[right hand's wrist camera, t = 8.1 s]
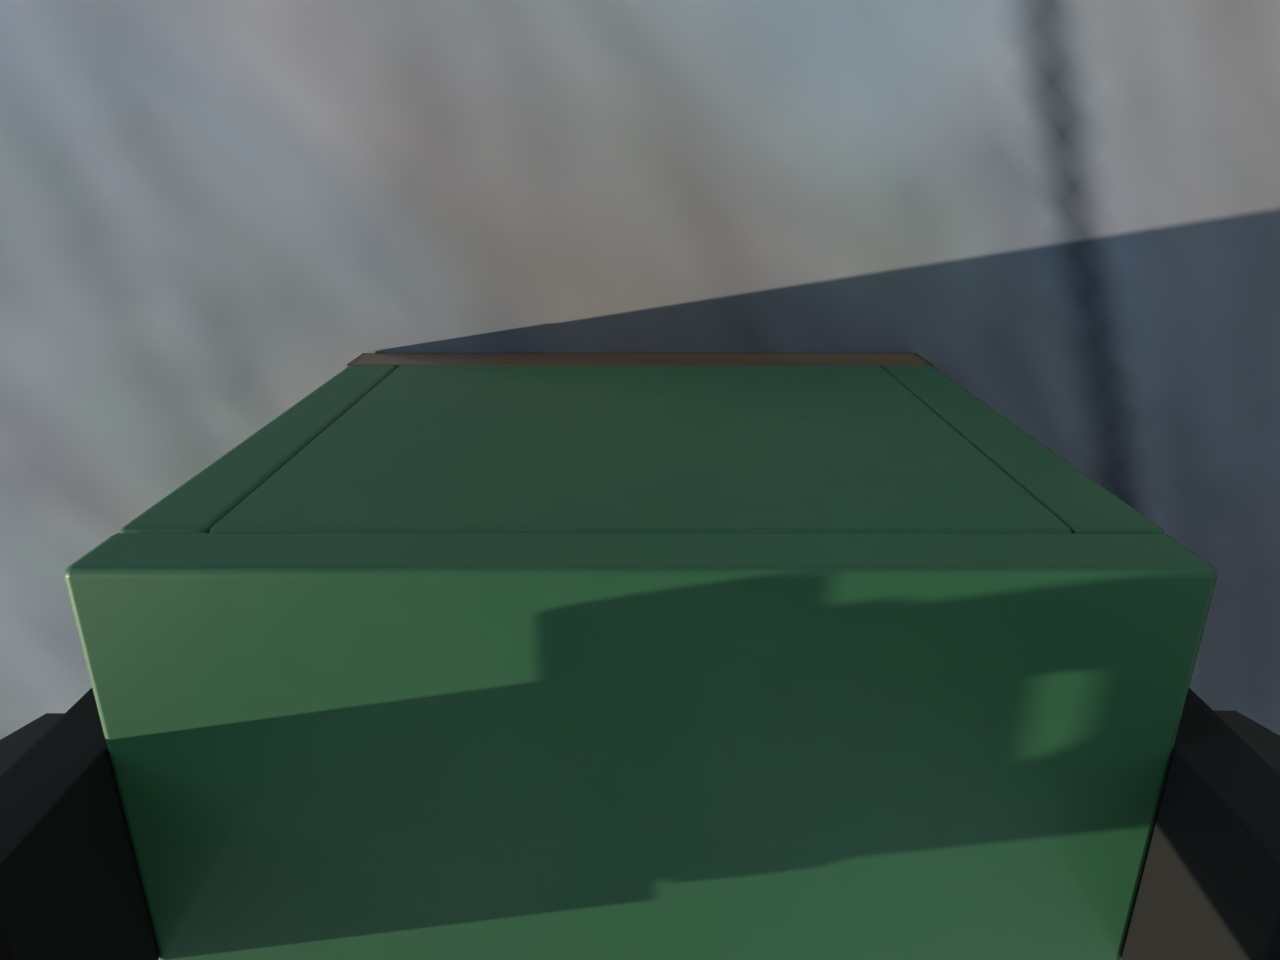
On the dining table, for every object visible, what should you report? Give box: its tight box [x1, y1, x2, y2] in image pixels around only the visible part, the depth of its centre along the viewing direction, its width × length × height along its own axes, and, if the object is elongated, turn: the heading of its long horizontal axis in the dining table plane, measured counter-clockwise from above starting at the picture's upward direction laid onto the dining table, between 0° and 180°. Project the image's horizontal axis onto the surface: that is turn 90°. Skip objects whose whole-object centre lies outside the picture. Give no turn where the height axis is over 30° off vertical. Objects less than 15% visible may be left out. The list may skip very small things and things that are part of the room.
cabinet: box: [65, 353, 1217, 960], centre depth 15 cm, size 18×10×9 cm, turn 0°
